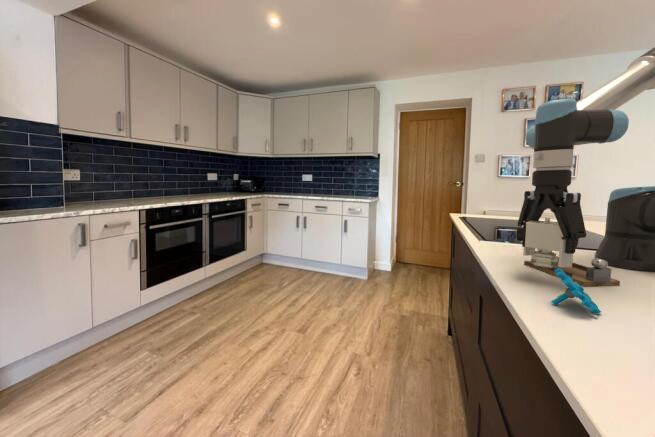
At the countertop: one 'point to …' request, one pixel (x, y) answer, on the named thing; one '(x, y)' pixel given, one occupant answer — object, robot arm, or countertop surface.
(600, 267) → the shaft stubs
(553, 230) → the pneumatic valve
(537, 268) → the brown wooden board
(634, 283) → the countertop surface
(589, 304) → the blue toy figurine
